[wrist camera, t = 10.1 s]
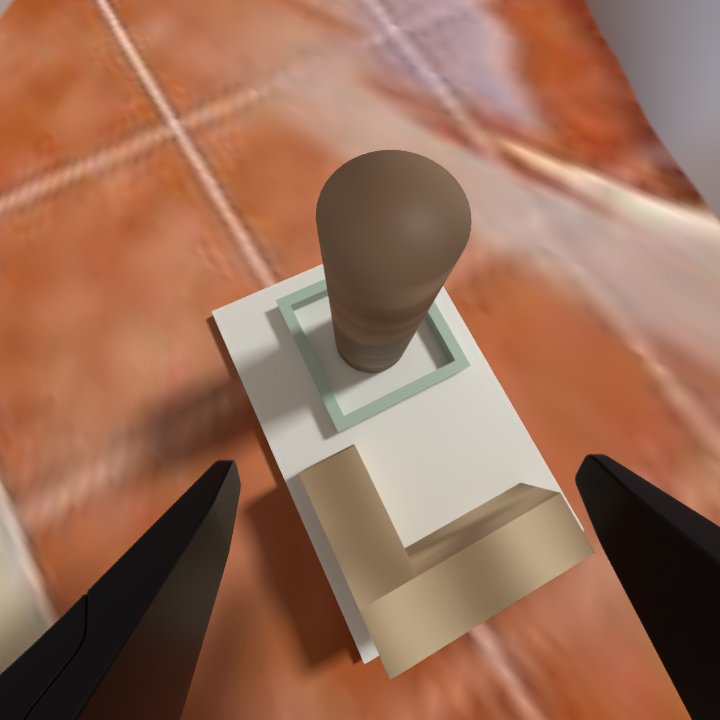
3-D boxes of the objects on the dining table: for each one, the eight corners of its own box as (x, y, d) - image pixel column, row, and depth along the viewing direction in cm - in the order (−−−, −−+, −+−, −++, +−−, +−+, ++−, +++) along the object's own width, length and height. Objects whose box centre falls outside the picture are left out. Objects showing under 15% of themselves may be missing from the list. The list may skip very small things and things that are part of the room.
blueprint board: (363, 657, 19) (365, 676, 18) (214, 314, 23) (205, 305, 22) (577, 527, 21) (596, 535, 20) (407, 232, 25) (411, 218, 23)
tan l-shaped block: (380, 630, 19) (390, 680, 15) (307, 467, 21) (299, 474, 17) (547, 530, 20) (594, 552, 17) (466, 386, 22) (492, 375, 18)
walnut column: (375, 387, 22) (404, 318, 10) (320, 340, 22) (283, 219, 10) (421, 334, 23) (501, 210, 10) (367, 291, 23) (384, 125, 11)
